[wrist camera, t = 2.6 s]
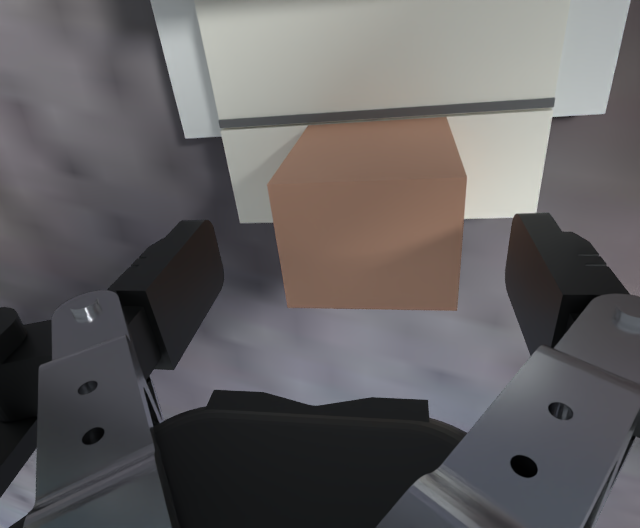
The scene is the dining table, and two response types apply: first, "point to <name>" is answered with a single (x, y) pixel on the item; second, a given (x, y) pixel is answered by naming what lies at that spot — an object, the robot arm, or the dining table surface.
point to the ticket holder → (384, 58)
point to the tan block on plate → (384, 200)
